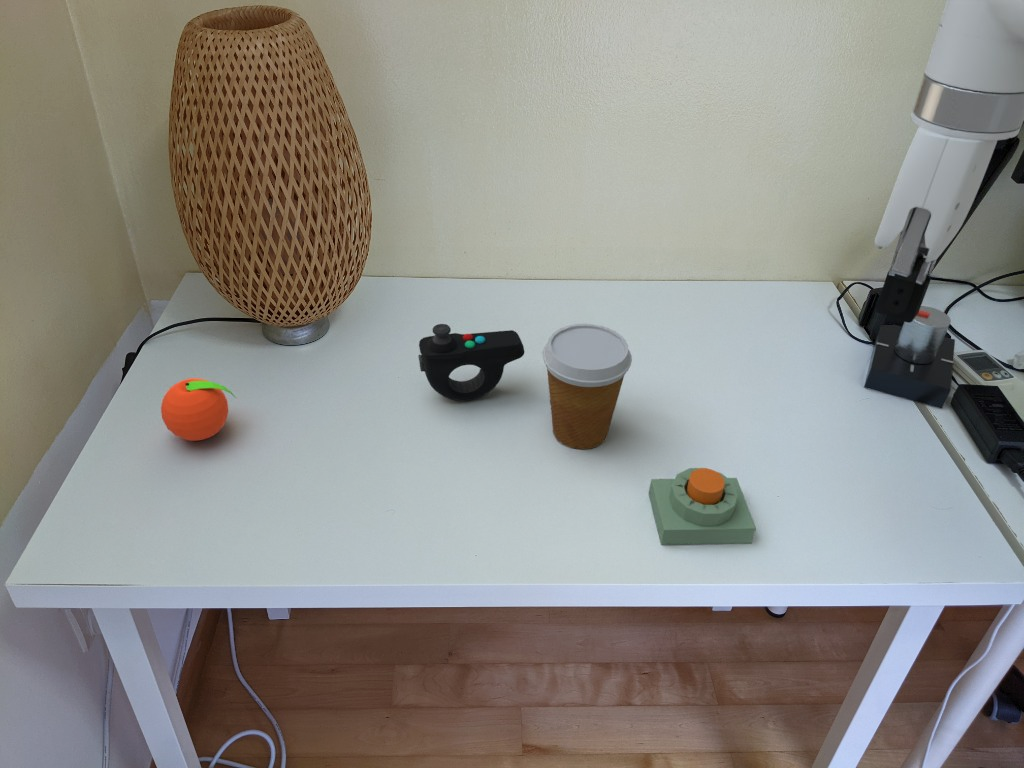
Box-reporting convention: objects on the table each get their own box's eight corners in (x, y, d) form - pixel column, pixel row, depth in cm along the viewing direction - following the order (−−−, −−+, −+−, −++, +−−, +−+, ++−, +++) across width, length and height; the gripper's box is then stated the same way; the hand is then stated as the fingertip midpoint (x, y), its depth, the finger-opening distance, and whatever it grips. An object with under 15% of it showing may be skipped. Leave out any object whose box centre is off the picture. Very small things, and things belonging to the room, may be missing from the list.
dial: (937, 349, 98) (953, 310, 95) (932, 368, 95) (949, 328, 91) (897, 338, 100) (911, 299, 97) (891, 356, 97) (906, 317, 93)
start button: (716, 480, 78) (720, 467, 77) (725, 505, 75) (728, 492, 74) (683, 480, 78) (686, 468, 77) (691, 505, 75) (693, 492, 74)
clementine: (245, 409, 91) (232, 360, 87) (242, 447, 86) (229, 397, 82) (173, 417, 90) (157, 368, 86) (166, 457, 84) (148, 407, 80)
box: (732, 492, 82) (740, 464, 79) (751, 543, 76) (760, 515, 74) (648, 493, 81) (653, 466, 79) (661, 545, 76) (666, 517, 73)
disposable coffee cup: (522, 438, 88) (525, 351, 81) (565, 395, 94) (572, 312, 87) (595, 471, 84) (605, 384, 77) (635, 425, 90) (648, 339, 83)
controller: (419, 389, 95) (415, 320, 89) (518, 378, 97) (520, 310, 91) (423, 411, 92) (419, 341, 86) (525, 399, 94) (528, 330, 88)
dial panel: (941, 408, 94) (951, 388, 92) (863, 387, 97) (871, 367, 95) (946, 358, 102) (955, 338, 100) (874, 340, 105) (882, 320, 103)
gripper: (944, 74, 65) (879, 270, 76) (887, 119, 55) (823, 335, 66) (1045, 92, 61) (962, 295, 72) (1002, 142, 51) (914, 367, 62)
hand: (895, 313), depth 69 cm, fingers closed
